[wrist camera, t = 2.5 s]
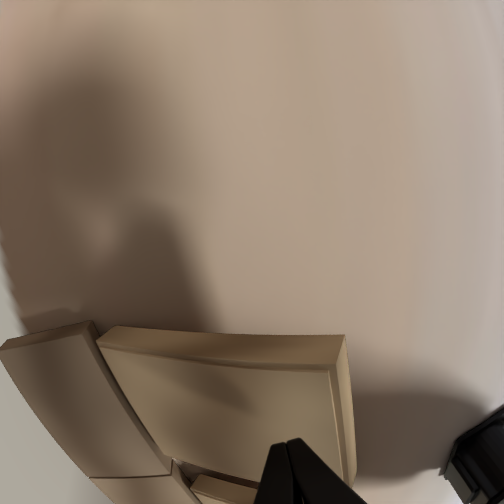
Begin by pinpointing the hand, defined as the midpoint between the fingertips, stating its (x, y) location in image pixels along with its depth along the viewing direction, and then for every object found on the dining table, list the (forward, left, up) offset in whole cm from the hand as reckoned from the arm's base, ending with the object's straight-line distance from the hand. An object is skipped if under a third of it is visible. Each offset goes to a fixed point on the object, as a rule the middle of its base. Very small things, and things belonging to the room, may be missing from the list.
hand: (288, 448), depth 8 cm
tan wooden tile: (+9, +6, -6) cm, 13 cm away
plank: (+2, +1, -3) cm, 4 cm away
